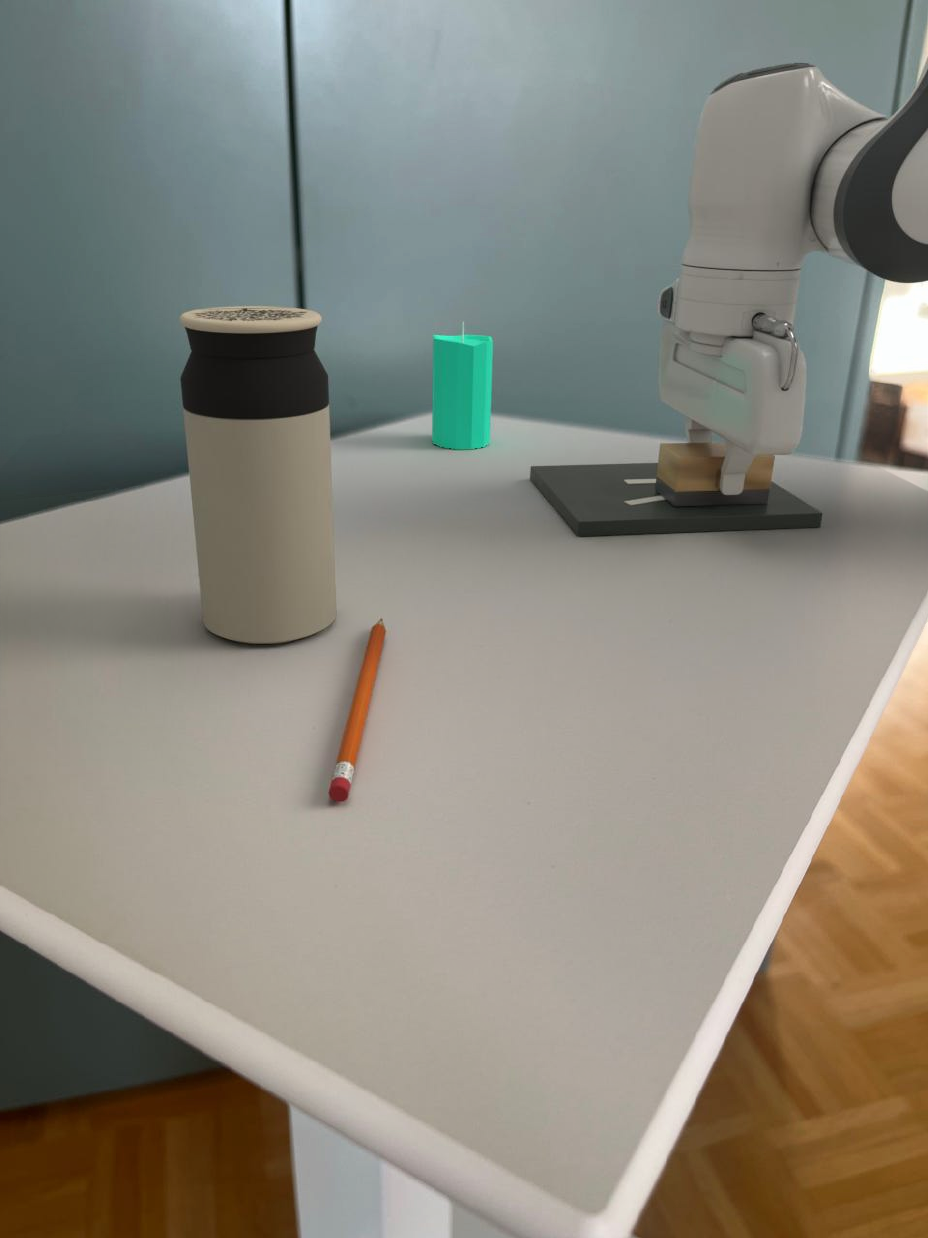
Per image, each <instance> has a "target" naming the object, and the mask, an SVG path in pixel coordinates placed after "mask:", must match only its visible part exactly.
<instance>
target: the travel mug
mask: <svg viewBox="0 0 928 1238" xmlns="http://www.w3.org/2000/svg"><path fill="white" fill-rule="evenodd" d="M322 321H323V319H322V316H321V314H320V313H319V312H316V311H314V310H311V309H304V308H298V307H297V308H296V307H290V306H289V307H288V306H287V307H286V306H270V305H268V306H267V305H239V306H237V305H236V306H235V305H234V306H217V307H216V306H215V307H207V308H206V307H205V308H198V309H193V310H188V311H185V312H183V313H181V314H180V316H179V324H181V326H183V327H184V329H185V332H186V336H187V341H188V343H189V348H190V353H189V356H188V359H187V361H186V363H185V366H184V368H183V370H182V372H181V375H180V388H181V389H180V391H181V401H182V410H183V412H182V413H183V421H184V432H185V433H184V434H185V441H186V443H185V444H186V452H187V453H186V454H187V461H188V462H187V464H188V465H187V466H188V474H189V486H190V495H191V506H192V516H193V528H194V538H195V539H194V540H195V548H196V550H195V551H196V560H197V569H198V580H199V590H200V591H199V592H200V601H201V613H202V622H203V624H204V626H205V628H206V629H207V630H208V631H209V632H211V633H213V634H214V635H216V636H219V637H221V638H225V639H227V640H230V641H233V642H236V643H244V644H250V645H278V644H286V643H290V642H294V641H297V640H301V639H305V638H309V637H311V636H312V635H314V634H316V633H318V632H320V631H323V630H324V629H326V628H327V627H328V626H330V625H331V624H332V623H333V622H335V620H336V618H337V587H336V560H335V533H334V504H333V502H334V501H333V475H332V472H333V471H332V449H331V445H332V443H331V419H330V392H329V388H330V387H329V374H328V372H327V371H326V368H325V366H324V365H323V363H322V362H321V360H320V357H319V355H318V354H317V352H316V350H315V348H316V337H317V331H318V327H319V325H320V324H321V323H322Z"/></svg>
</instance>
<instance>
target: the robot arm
mask: <svg viewBox="0 0 928 1238" xmlns="http://www.w3.org/2000/svg"><path fill="white" fill-rule="evenodd" d="M701 110H702V111H701V114H700V118H699V121H698V124H697V125H698V126H697V130H696V135H695V139H694V146H693V152H692V157H691V165H690V174H689V180H688V190H687V197H686V198H687V199H686V205H687V211H688V217H689V231H688V238H687V240H686V241H687V242H686V245H685V247H684V249H683V252H682V255H681V258H680V267H679V269H680V270H679V277H677V278H676V279H675V280H674V281H673V282H672V283H671V284H669V285H668V286H666V287H664V288H663V289H662V290H660V292H659V294H658V300H657V315H658V316H659V318H661V319H663V322H662V324H661V327H660V331H659V338H658V339H659V341H658V357H657V388H658V389H657V390H658V394H659V398H660V401H661V402H662V403H663V404H665V405H667V406H668V407H671V408H672V409H674V410H675V411H677V412H678V413H680V414H682V415H684V416H685V422H684V429H685V436H686V443H713V433H714V434H715V435H717V436H719V437H721V438H723V439H724V442H725V443H724V451H725V452H727V453H726V456H725V459H724V462H723V465H722V468H721V469H717V473H716V481H715V487H716V489H718V490H719V491H720V492H721V493H723V494H724V495H738V494H740V493H741V492H742V491H743V487H744V480H745V473H746V472H747V471H748V469H749V467H750V465H751V463H752V462H753V460H754V458H755V456H756V455H774V456H784V455H786V456H787V455H791V454H793V453H794V452H795V451H796V448H797V447H798V446H799V444H800V443H801V439H802V435H803V427H804V418H805V407H806V405H805V404H806V394H807V393H806V391H807V374H808V373H807V360H806V356H805V354H804V352H803V350H802V348H801V345H800V342H799V341H797V338H796V335H795V332H794V331H795V329H794V320H795V314H796V308H797V300H798V294H799V293H798V292H799V287H800V280H801V274H802V266H803V262H804V261H803V260H804V258H805V257H806V256H807V255H808V254H810V253H812V252H821V253H823V254H824V255H826V256H829V257H831V258H833V259H837V260H840V261H842V262H845V263H847V264H850V265H854V266H858V267H861V268H863V269H864V270H866V271H868V272H870V273H871V274H873V275H874V276H876V277H878V278H880V279H883V280H886V281H889V282H893V283H899V284H915V283H916V284H918V283H923V282H928V56H927V57H926V60H925V63H924V66H923V67H922V70H921V73H920V75H919V78H918V80H917V82H916V85H915V87H914V88H913V90H912V91H911V93H910V94H909V96H908V98H907V99H906V100H905V101H904V102H903V104H902V105H901V106H900V108H898V109H897V110H896V112H895V113H894V114H893V115H891V116H890V117H889V118H887V116H886V115H885V114H882V113H879V112H878V111H876V110H873V109H870V108H869V107H867V106H866V105H863V104H861V103H860V102H858V101H857V100H854V99H853V98H851V97H850V96H848V95H847V94H846V93H845V92H843V91H841V90H840V89H839V88H837V87H836V86H835V85H834V84H833V83H831V82H830V81H829V80H828V79H827V78H826V77H825V76H824V74H823V73H822V72H821V70H820V68H819V67H818V66H817V65H815V64H810V63H807V62H793V63H791V62H790V63H783V64H776V65H769V66H766V67H761V68H760V67H759V68H756V69H752V70H750V71H746V72H740V73H736V74H734V75H732V76H730V77H728V78H726V79H725V80H723V81H722V82H720V83H719V84H718V85H717V86H716V87H714V88H713V90H712V91H711V92H710V93H709V95H708V96H707V97H706V100H705V102H704V105H703V107H702V109H701Z"/></svg>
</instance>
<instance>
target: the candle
mask: <svg viewBox="0 0 928 1238" xmlns="http://www.w3.org/2000/svg"><path fill="white" fill-rule="evenodd" d="M461 326H462V329H461V330H462V331H461V333H462V334H459V335H442V334H441V335H439V334H432V411H431V412H432V413H431V414H432V417H431V419H432V421H431V422H432V423H431V425H432V426H431V427H432V428H431V429H432V430H431V433H432V434H431V439H432V440H431V441H432V445H434V444H436V445H438V446H437V447H439V446H440V447H439V448H442V447H444V448H443V449H449V448H451V449H450V450H476V449H475V448H477V449H482V448H481V447H483V448H486V447H487V446H489V445H490V444H491V420H492V419H491V418H492V416H491V415H492V391H493V390H492V388H493V387H492V386H493V384H492V383H493V353H494V340H493V337H492V336H490V335H481V334H479V335H478V334H465V321H462V325H461ZM489 443H490V444H489ZM488 444H489V445H488ZM436 445H435V446H436ZM486 445H487V446H486Z"/></svg>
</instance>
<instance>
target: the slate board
mask: <svg viewBox="0 0 928 1238" xmlns="http://www.w3.org/2000/svg"><path fill="white" fill-rule="evenodd" d="M657 467H658V462H640V463H639V462H636V463H599V464H595V463H594V464H566V465H565V464H562V465H561V464H560V465H559V464H558V465H531V466H530V472H529V473H530V474H529V480H531V482H532V483H533V484H534V485H535V487H537V489H538V490H539V492H541V494H542V495H543V496H544V498H545V499H546V500H547V501H548V502H549V504H550V505H551V506H552V507H553V508H554V509H555V511H556V512H557V513H558V514H559V516H560V517H561V518H562V519H563V520H564V522H565V523H566V524H567V525H568V527H569V528H570V529H571V531H573V532H574V534H575V535H576V536H577V537H596V536H597V537H600V536H624V535H626V536H627V535H649V534H651V535H652V534H677V533H701V532H703V533H704V532H705V533H706V532H727V531H729V532H730V531H731V532H733V531H755V530H756V531H757V530H780V529H781V530H784V529H802V528H803V529H808V528H809V529H810V528H821V525H822V519H823V512H822V511H821V510H819V509H817V508H815V507H814V506H812V505H810V504H809V503H807V502H806V501H804V500H802V498H799V497H798V496H796V495H795V494H794V493H791V492H789V490H786V489H785V488H784V487H782V486H780V485H779V484H777V483H775V482H774V481H772V480H771V485H770V489H769V490H770V491H769V497H768V503H767V504H744V505H709V506H673V505H672V504H671V503H670V502H669V501H667V500H666V499H665V498H664V497H663V496H661V495H660V494H659V493H658V492H657V491H655V485H656V477H657Z"/></svg>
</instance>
